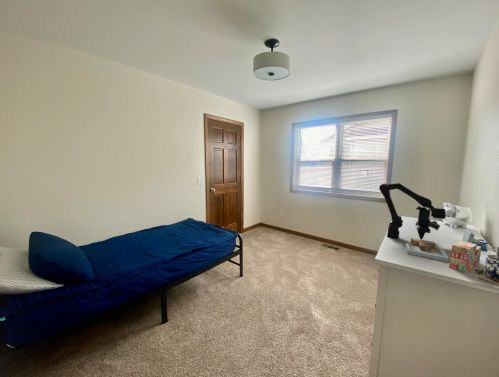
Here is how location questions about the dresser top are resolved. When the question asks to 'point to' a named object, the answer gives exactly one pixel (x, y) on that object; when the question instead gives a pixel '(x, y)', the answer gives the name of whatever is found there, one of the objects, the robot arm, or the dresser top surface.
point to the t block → (423, 244)
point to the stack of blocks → (464, 256)
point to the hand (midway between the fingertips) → (421, 239)
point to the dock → (442, 252)
